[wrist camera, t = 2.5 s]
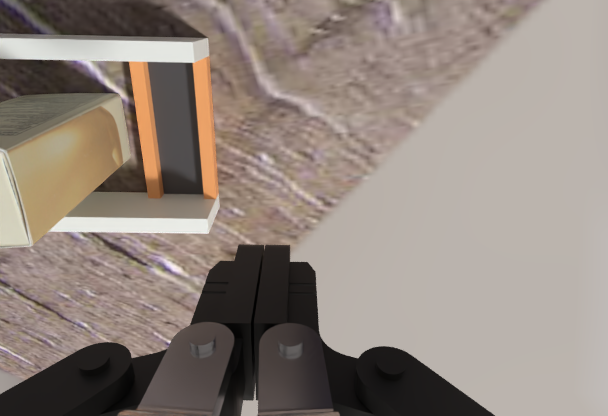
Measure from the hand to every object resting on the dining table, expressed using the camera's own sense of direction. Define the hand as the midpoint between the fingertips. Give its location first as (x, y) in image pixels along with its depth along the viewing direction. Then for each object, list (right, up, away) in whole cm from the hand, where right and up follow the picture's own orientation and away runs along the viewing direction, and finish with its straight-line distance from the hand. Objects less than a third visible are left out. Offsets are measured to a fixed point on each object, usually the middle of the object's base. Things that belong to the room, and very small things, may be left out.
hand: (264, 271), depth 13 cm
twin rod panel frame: (-11, +7, +15) cm, 20 cm away
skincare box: (-13, +7, +15) cm, 21 cm away
